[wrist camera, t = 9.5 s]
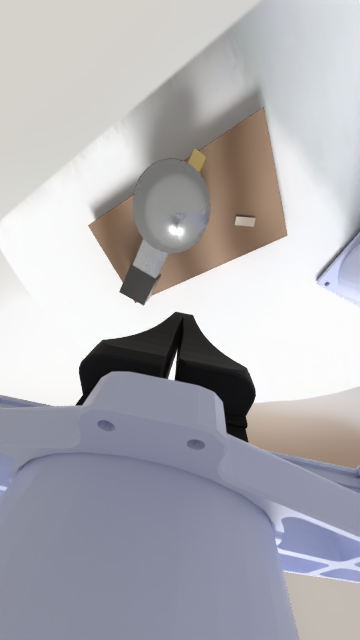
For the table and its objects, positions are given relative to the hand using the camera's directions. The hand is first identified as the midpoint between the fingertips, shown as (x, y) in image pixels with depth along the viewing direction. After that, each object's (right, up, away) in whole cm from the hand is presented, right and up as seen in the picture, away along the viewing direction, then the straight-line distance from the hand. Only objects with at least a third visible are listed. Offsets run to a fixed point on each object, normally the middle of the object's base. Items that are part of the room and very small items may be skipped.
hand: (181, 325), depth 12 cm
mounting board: (0, +10, +6) cm, 12 cm away
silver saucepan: (-2, +8, +4) cm, 10 cm away
